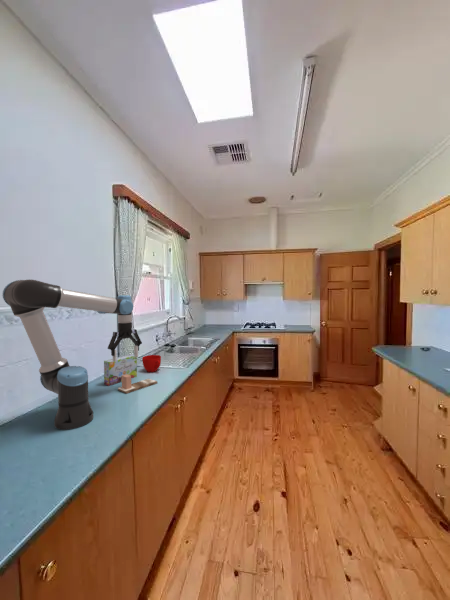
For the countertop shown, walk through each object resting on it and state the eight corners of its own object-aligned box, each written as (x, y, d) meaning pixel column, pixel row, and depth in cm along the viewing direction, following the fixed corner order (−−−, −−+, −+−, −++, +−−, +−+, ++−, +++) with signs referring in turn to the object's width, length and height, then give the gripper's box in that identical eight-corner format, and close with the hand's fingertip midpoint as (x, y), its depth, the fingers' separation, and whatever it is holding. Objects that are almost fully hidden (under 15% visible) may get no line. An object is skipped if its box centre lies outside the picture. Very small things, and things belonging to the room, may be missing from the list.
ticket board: (126, 393, 152) (126, 390, 152) (118, 390, 158) (118, 387, 158) (157, 383, 168) (157, 380, 168) (148, 380, 174) (148, 378, 174)
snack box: (109, 386, 164) (108, 361, 164) (103, 384, 167) (103, 360, 167) (137, 376, 182) (137, 354, 182) (132, 375, 185) (131, 353, 185)
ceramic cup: (151, 376, 183) (151, 361, 183) (139, 371, 195) (138, 357, 194) (168, 371, 192) (167, 357, 192) (154, 367, 204) (154, 354, 204)
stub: (125, 391, 152) (125, 378, 152) (117, 388, 157) (117, 375, 157) (135, 388, 157) (135, 375, 157) (128, 385, 162) (127, 373, 162)
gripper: (140, 319, 168) (140, 353, 168) (100, 323, 148) (101, 362, 149) (147, 320, 163) (148, 355, 164) (107, 324, 143) (108, 364, 144)
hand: (125, 359), depth 156 cm, fingers open, 13 cm apart
